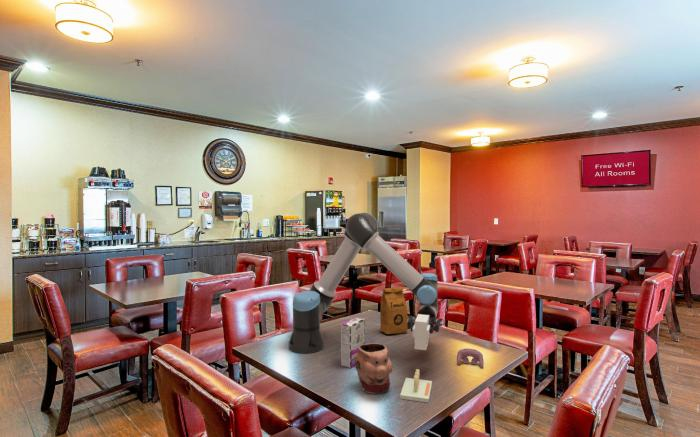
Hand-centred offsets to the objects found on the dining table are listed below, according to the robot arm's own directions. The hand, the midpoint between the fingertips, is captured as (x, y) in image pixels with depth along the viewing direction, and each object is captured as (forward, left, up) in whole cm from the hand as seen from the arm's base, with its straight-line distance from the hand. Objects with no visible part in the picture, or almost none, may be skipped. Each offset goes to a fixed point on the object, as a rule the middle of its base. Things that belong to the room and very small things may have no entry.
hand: (420, 333), depth 138 cm
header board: (0, -10, -16) cm, 19 cm away
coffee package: (-18, +48, -17) cm, 54 cm away
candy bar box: (-27, +7, -17) cm, 33 cm away
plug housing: (0, +5, -6) cm, 8 cm away
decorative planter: (-15, -10, -17) cm, 25 cm away
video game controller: (+17, +19, -17) cm, 30 cm away
